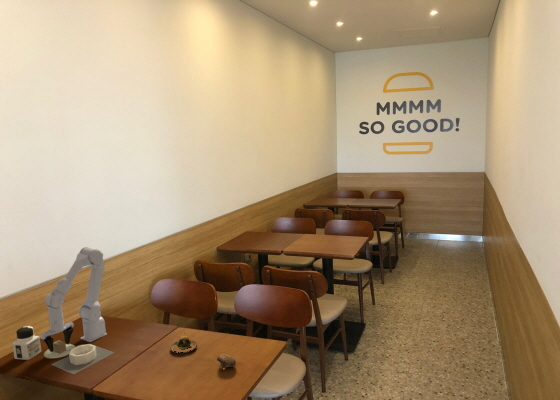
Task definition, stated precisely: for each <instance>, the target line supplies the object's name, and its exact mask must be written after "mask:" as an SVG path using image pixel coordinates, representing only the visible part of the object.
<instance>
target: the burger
mask: <svg viewBox="0 0 560 400" xmlns="http://www.w3.org/2000/svg"><path fill="white" fill-rule="evenodd" d="M191 344H193V345H194V346H195V348H194V349H192V350H191V351H195V349H196V347H197V348H198V344H197V342H196V341H195V340H190V338H189V336H187V335H185V331H184V335H182V336H181V337H179V340H178V341H175V342H174V343H173V344H172V345H170V350H169V351H170V352H173V353H177V354H181V353H180V352H179V353H178V352H174V351H173V348H174V346H176V345H177V346H178V348H179V349H181V350H185V349H188V348H192V346H190V345H191ZM196 350H197V349H196ZM191 351H188V352H183V353H182V354H186V353H189V352H191Z"/></svg>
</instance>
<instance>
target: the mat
mask: <svg viewBox="0 0 560 400" xmlns="http://www.w3.org/2000/svg"><path fill="white" fill-rule="evenodd" d="M93 345H94V346H96V354H97V355H96V357H95V359H94V360H92V361H90V362H88V363H86V364H80V365H75V364H72V363H70V357H69V355H67V356H65V357H64V358H61V359H60V360H57V361H56V362H54V363H52V364H51V366H54V367H56V368H58V369H60V370H63V371H64V372H67V373H69V374H71V375H75V374H77V373H79V372H81V371H83V370H85V369H87V368H89V367H91V366H93V365H94V364H96V363H98V362H101V361H102V360H104V359H105V358H108V357H109V356H111V355H113V354H115V352H113V351H111V350H110V349H109V350H108V349H105V348H103V347H100V346H97V345H95V344H93Z"/></svg>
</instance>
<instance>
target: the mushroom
mask: <svg viewBox="0 0 560 400" xmlns="http://www.w3.org/2000/svg"><path fill="white" fill-rule="evenodd" d="M216 360H217V362H219V364H220V365H219V368H220V369H221V370H222V369H223V368H226V367H227V368H229V367H232V366H234V367H236V365H237V362H236V359H235V357H233V356H232V355H229V354H226V353H222V354H219V355H218V356H217V358H216ZM227 368H226V369H227Z"/></svg>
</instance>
